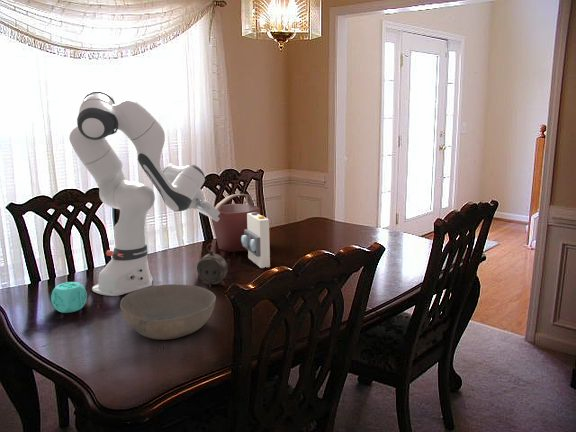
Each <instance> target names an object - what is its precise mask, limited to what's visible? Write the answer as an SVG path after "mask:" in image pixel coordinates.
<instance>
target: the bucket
mask: <svg viewBox="0 0 576 432" xmlns="http://www.w3.org/2000/svg"><path fill="white" fill-rule="evenodd" d="M240 196H241V197H243V196H245V202H246V203H228V202H229V201H230V200H231V199H233V198H236V197H240ZM226 203H228V204H226ZM214 207H215V208H216V209H217V210H218V211H219V212H220V214H219V215H218V217H219V218H220V219H219V221H218V222H216V221H215V220H213V219H212V218H210V219H211V223H212V227H213V230H214V236H215V239H216V242H217V246H218V247H217V248H218V250H222V251H225V252H230V253H231V252H244V251H248V250H247V249H246V248H245V247H243V246H242V242H241V237H242V235H244V230H245V229H247V213H252V212H257V213H258V214H259V215H261V208H260V207H258V206H256V205H254V200H253V199H252V195H251V194H246V193H235V194H234V193H233V194H231V195H227V196H226V197H225V198H223V199H222V200H221V201H220V202H218V203H217V204H216V205H215V206H214Z"/></svg>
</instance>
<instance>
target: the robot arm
mask: <svg viewBox="0 0 576 432" xmlns="http://www.w3.org/2000/svg"><path fill="white" fill-rule="evenodd" d="M76 118H77V119H76V125H77V126H75V127H74V128H73V129H72V130H71V132H70V134H69V142H70V145H71V146H72V148H73V150H74V152H75V154H76V155H77V157H78V158H79V160H80V161H81V163H82V165H84V167H85V168H86V170H87V171H88V172H89V173H90V175H91V176H92V177H93V179H94V181H95V183H96V184H97V187H98V189H99V191H98V194H99V195H98V196H99V199H100V201H101V202H102V203H103V204H105V205H106V206H108V207H110V208H112V209H116V210H119V218H118V220H117V222H116V224H115V225H114V226H113V238H114V249H113V250H110V249H108V250H106V252H105V254H106V255H105V256H109V257H111V259H110V261H109V262H108V263H107V264H106V265H105V266H104V267H103V268H102V270H101V271H100V272H99V273H98V283H97V284H95V285H93V286H92V288H91V290H92V291H93V292H94V293H96V294H99V295H103V296H107V297H108V296H109V297H110V296H111V297H118V296H121V295H124V294H125V295H126V294H130V293H132V292H134V291H136V290H139V289H143V288H147V287H152V286H153V281H154V279H153V277H152V274H151V271H150V267H149V261H148V256H147V255H148V253H149V252H148V245H147V244H146V228H145V227H146V219H147V215H148V212H149V211H150V210H151V209H152V207H153V206H154V204H155V200H156V198H155V197H156V196H155V192H154V190H153V189H152V188H151V187H150V186H149V185H146V184H144V183H142V182H140V181H139V182H138V181H131V180H129V179H128V178H126V176H125V175H124V173H123V170H122V169H123V162H122V160H121V159H120V157H119V156H118V155H117V153H116V152H115V150H114V149H113V147H112V146H111V145H110V143H109V142H108V140H107V139H106V137H108V136H111V135H114V134H116V133H117V132H118V130H119V131H121V132H122V133H123V134H124V136H126V137H127V138H128V139H129V140H130V141H131V142H132V144H133V145H134V147H135V149H136V150H135V151H136V153H137V161H138V164H139V165H140V167H141V168H142V170H143V171H144V173H145V174H146V176H147V177H148V179H149V181H151V183H152V184H153V186H154V187H155V189H156V190H157V191H158V193H159V195H160V197H161V199H162V200H163V202H164V204H165V205H166V206H167V208H169V209H170V210H172V211H174V212H183V211H186V210H188V209H189V210H190V209H193V210H196V211H197V212H198V213H200V214H202V215H204V216H206V217H208V218H210V219H211V218H212V219H213V220H215V221H216V222H218V221H219V219H220V218H219V217H218V215H219V214H220V212H219V211H218V210H217V209H216V208H215V206H213V205H212V204H211V203H210V202H209V201H208V200H206V199H205V198H206V197H205V196H204V195H205V192H204V191H203V189H201V188H202V186H203V185H204V183H205V181H206V176H205V173H204V171H203V170H202V169H201V168H200V167H199V166H197V165H196V164H187V165H184V166H179V165H178V166H177V165H174V164H173V163H169V164H166V165H165V166H164V167H163V169H162V168H161V155H162V151H163V148H164V146H165V142H166V141H165V140H166V134H165V131H164V129H163V126H162V125H161V124H160V123H159V121H157V119H156V118H154V116H153V115H152V114H151V113H150V112H149V111H148V110H147V109H146V108H144V106H142V105H141V104H140V103H138V102H137V101H135V100H134V99H130V98H127V99H124V100H122V101H120V102H118V103H117V104H116V102H115V100H114V98H113V97H112V95H111V94H109V93H108V92H106V91H104V90H93V91H91V92H89V93H87V95H85V97H84V98H83V100H82V102H81V104H80V107H79V111H78V116H77V117H76ZM212 219H211V220H212Z"/></svg>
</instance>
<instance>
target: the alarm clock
mask: <svg viewBox="0 0 576 432" xmlns="http://www.w3.org/2000/svg"><path fill="white" fill-rule="evenodd" d="M210 245H211V246H213V247H214V249H213V250H210V249H209V248H208V246H210ZM206 250H207V251H208V252H209V253H207V254H205V255H204V256H203V257H202V258H200V259H199V260H198V263H197V265H196V272H197V275H198V277H199V278H200V280H202V283H201V284H204V283H206V284H209V285H208V288H211V287H212V285H217V284H218V283H221V285H222V286H225V285H226V284H225V283H224V281H223V280H224V279H225V278H226V276H227V275H228V271H229V270H228V269H229V268H228V263H227V261H226V260H225V258H224V257H223V256H222V255H220V254H218V253H214V252H215V251H216V245H215V244H213V243H209V244H207V246H206Z"/></svg>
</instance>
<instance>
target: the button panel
mask: <svg viewBox="0 0 576 432" xmlns="http://www.w3.org/2000/svg"><path fill="white" fill-rule="evenodd" d="M244 235H248V238H249V246H248V247H245V248H246V249H247V250H246V251H247V252H248V254H247V257H248V259H249V260H250V261H251V262H253V264H255V265H256V266H258V267H259V268H260V269H264V268H265V267H266V268H270V267H271V257H270V256H271V249H270V244H271V243H270V219H268V217H265V216H264V215H261V214H260V215H259V214H258V213H257V212H252V213H247V229H245V230H244ZM251 239H256V251H252V250H251V246H250V241H251Z"/></svg>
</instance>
